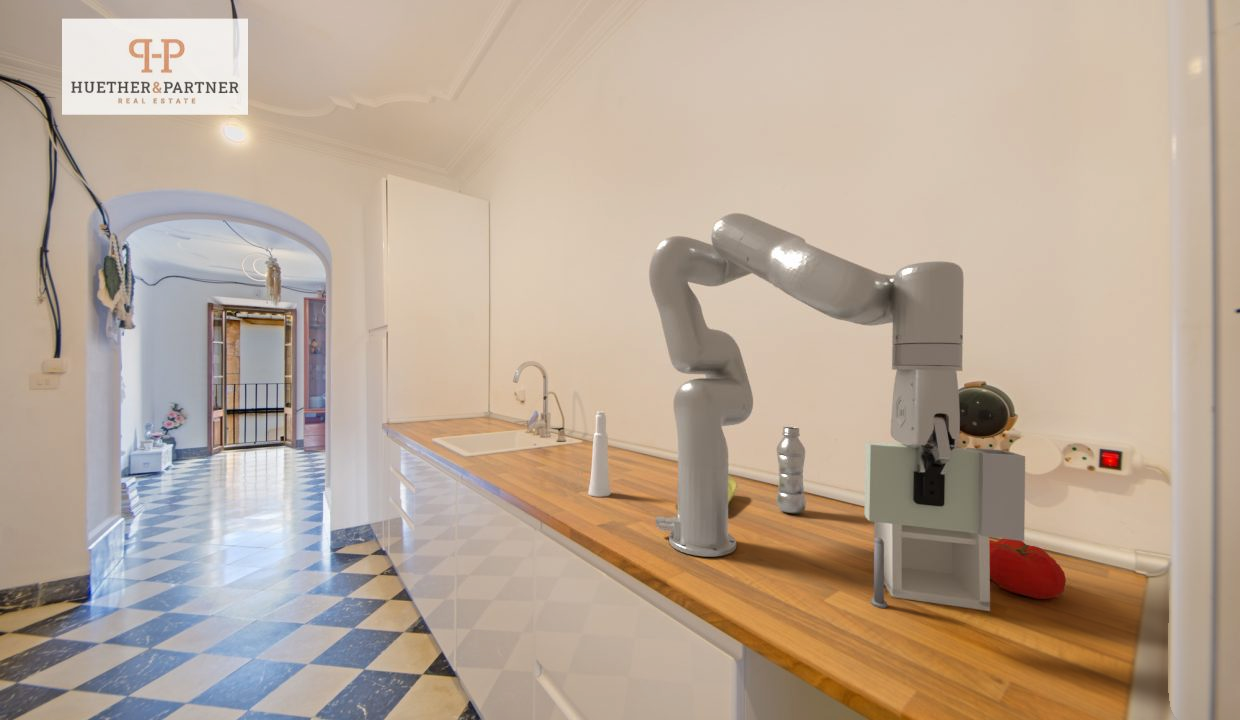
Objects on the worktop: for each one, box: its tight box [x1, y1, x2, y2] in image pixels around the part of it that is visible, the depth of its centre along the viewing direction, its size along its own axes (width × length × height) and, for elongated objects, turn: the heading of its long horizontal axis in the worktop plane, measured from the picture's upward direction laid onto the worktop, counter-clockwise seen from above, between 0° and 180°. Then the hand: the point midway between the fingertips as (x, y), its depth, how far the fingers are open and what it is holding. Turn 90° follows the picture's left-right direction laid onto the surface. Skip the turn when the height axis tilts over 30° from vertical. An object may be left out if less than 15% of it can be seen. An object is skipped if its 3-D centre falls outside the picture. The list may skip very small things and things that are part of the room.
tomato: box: [989, 538, 1067, 600], centre depth 68 cm, size 10×11×6 cm
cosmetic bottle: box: [587, 410, 612, 498], centre depth 117 cm, size 6×6×22 cm
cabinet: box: [870, 522, 991, 612], centre depth 66 cm, size 16×14×18 cm
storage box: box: [864, 441, 1026, 542], centre depth 56 cm, size 16×4×10 cm, turn 73°
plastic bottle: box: [775, 426, 807, 514], centre depth 104 cm, size 6×7×20 cm
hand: (923, 499), depth 57 cm, fingers closed on storage box, 2 cm apart
